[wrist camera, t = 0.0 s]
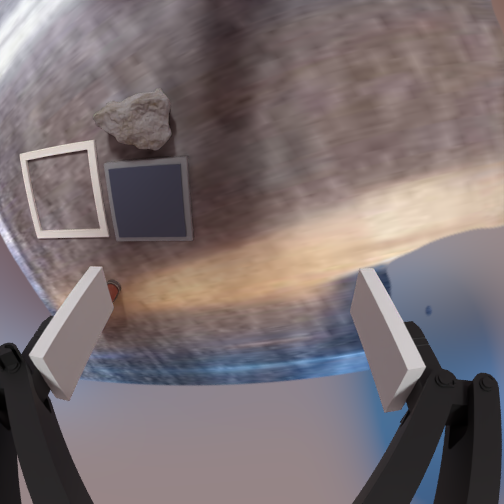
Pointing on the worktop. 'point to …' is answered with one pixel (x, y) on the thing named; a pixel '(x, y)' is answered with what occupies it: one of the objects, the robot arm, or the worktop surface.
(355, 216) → the worktop surface
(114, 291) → the lighter
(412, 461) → the robot arm
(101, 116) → the stone
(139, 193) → the ink pad
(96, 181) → the white flat square frame
